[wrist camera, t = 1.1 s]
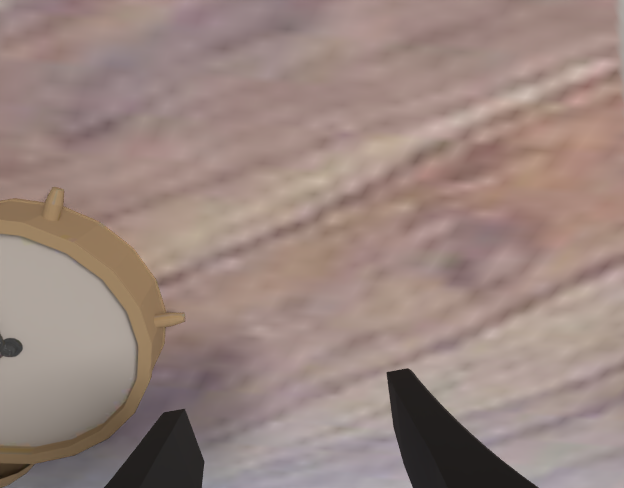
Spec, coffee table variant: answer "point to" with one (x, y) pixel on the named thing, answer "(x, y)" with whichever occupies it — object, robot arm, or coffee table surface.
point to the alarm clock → (70, 332)
